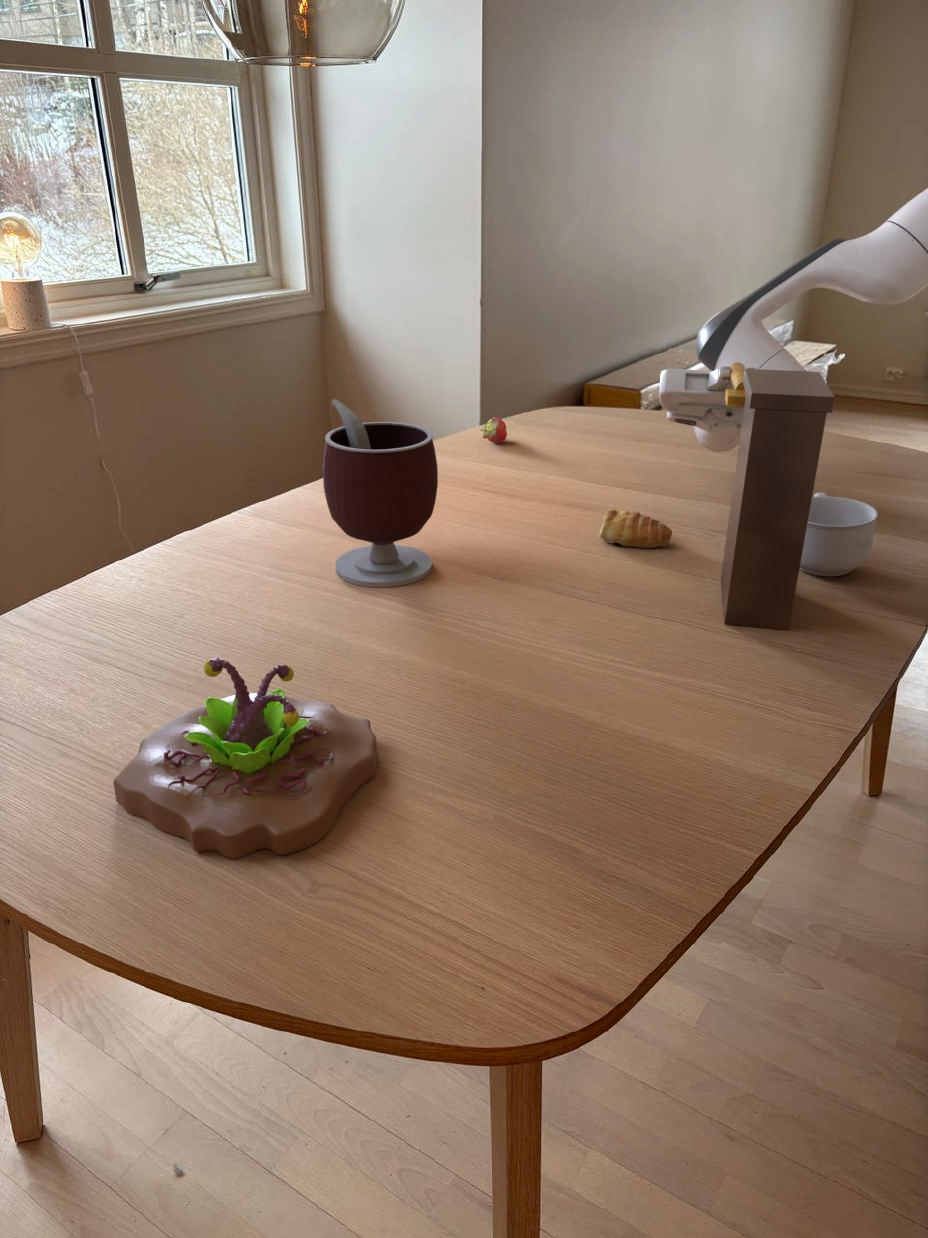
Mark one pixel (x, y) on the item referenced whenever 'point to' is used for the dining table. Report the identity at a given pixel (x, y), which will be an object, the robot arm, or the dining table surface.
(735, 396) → the toy blocks
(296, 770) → the plant
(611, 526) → the pastry
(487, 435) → the fruit
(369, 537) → the mate gourd
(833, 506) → the teacup
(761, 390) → the rectangular pillar
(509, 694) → the dining table surface
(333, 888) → the dining table surface
